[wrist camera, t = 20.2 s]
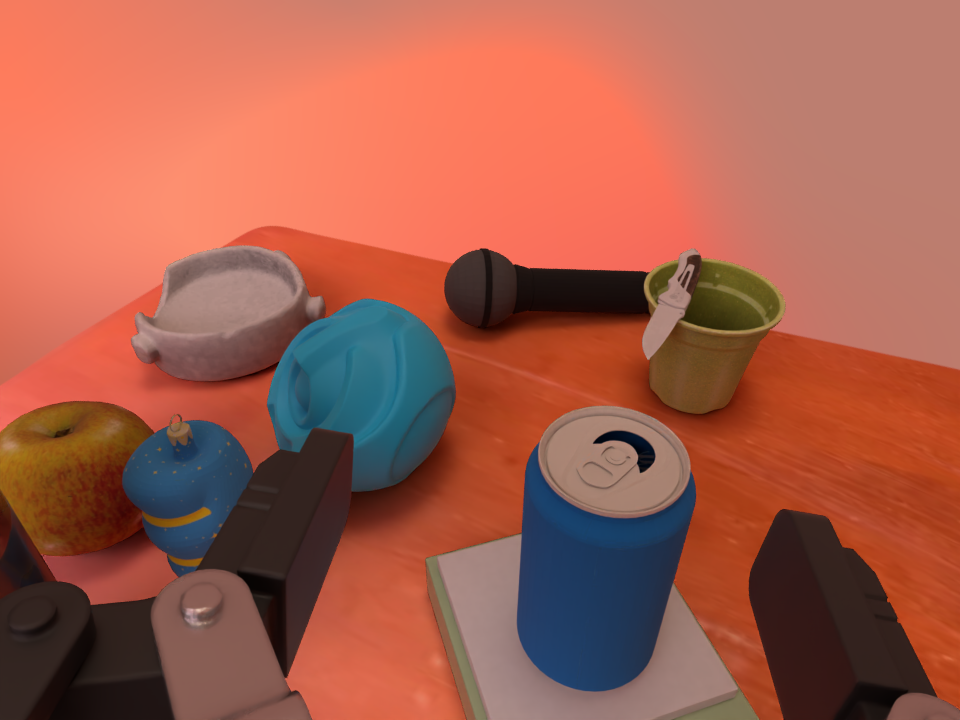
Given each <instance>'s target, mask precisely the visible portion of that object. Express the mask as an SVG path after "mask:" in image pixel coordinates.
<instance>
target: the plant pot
mask: <svg viewBox="0 0 960 720" xmlns="http://www.w3.org/2000/svg"><path fill="white" fill-rule="evenodd" d="M701 259H702V268H701V273H700V277H699V280H698V283H697V286H696V288H695V291H694V294H693V296H692V299H691V301H690V303H689V305H688V307H687V309H686V311H685V315H684V317H683V318H681V319H680V320H679V321H678V322H677V323H676V324H675V326H674V328H673V329H672V331H671V332H670V334H669V335H668V337H667V338H666V340H665V341H664V342H663V344H662V345H661V346H660V347H659V349H658V350H657V351H656V352H655V353H654V354H653V355H652V357H651V358H650V368H649V385H650V388H651V390H653V391H654V392H655V393H656V394H657V395H658V397H659V398H660V400H661V401H662V402H663V403H664V404H666V405H668V406H669V407H671V408H674V409H676V410H679V411H683V412H687V413H693V414H704V413H707V412H709V411H712V410H715V409H722V408H724V407H725V406H726V405H727V404H728V403H729V401H730V399H731V397H732V395H733V393H734V392H735V390H736V388H737V385H738V383H739V381H740V379H741V377H742V375H743V373H744V371H745V369H746V367H747V365H748V363H749V361H750V360H751V358H752V356H753V354H754V352H755V350H756V348H757V346H758V344H759V342H760V341H761V340H762V339H763V338H764V337H765V336H766V335H767V333H768V332H769V330H770V329H772V328H773V327H775V326H776V325H777V324H778V323H779V322H780V321H781V319H782V317H783V315H784V312H785V301H784V297H783V295H782V294H781V292H780V291H779V289H778V288H777V287H776V286H775V285H774V284H773V283H771V282H770V281H769V280H768V279H767V278H765V277H763V276H762V275H760V274H758V273H756V272H754V271H752V270H750V269H748V268H745V267H742V266H740V265H737V264H734V263H730V262H726V261H721V260H716V259H707V258H701ZM677 269H678V260H674V261H670V262H667V263H664V264H662V265H660V266H658V267H656V268H655V269H653V270H652V271H651V272H650V273H649V274H648V275H647V277H646V279H645V282H644V293H645V296H646V299H647V301H648V302H649V312H650V315H651V317H652V316H653V314H654V312H655V310H656V308H657V306H658V297H659V295H661V294H662V293H664V292H667V291H668V287H667V285H668V281H669V279H671V278H672V277H673V276H674V274H675V273H676V271H677Z"/></svg>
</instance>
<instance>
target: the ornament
mask: <svg viewBox="0 0 960 720" xmlns="http://www.w3.org/2000/svg"><path fill="white" fill-rule="evenodd" d="M177 415H178V414H177ZM175 416H176V415H174V416H173V417H172V418H171V420H170V426H167V427H165V428H163V429H161V430H159V431H157V432H156V433H154V434H153V435H151V436H150V437H149V438H148V439H146V440H145V441H144V442H143V443H142V444H141V445H140V446H139V447H138V448H137V449H136V450H135V452H134V453H133V454H132V455H131V457H130V459H129V460H128V462H127V464H126V466H125V468H124V471H123V477H122V485H123V489H124V491H125V493H126V495H127V497H128V498H129V499H130V500H131V502H132V503H133V504H134V505H135V506H137V507H138V508H139V509H140V510H142V523H143V526H144V529H145V532H146V534H147V536H148V537H149V539H150V540H151V541H152V543H153V544H154V545H156V546H157V547H158V548H159V549H161V550H162V551H164V552H165V553H167V558H168V562H169V564H170V566H171V568H172V570H173V571H174V572H175V574H176V575H177V576H178V577H181V576H183V575H185V574H188V573H190V572H194V571H195V570H196V569H197V567H198V566H199V564H200V562H201V561H202V559H203V557H204V556H205V554H206V552H207V551H208V549H209V547H210V546H211V544H212V542H213V541H214V539H215V537H216V536H217V534H218V532H219V531H220V529H221V527H222V526H223V524H224V522H225V521H226V519H227V517H228V516H229V514H230V512H231V511H232V509H233V507H234V506H236V504H237V501H238V499H239V497H240V496H241V494H242V492H243V490H244V489H246V487H247V484H248V482H249V480H250V479H251V477H252V475H253V470H252V466H251V463H250V460H249V458H248V456H247V454H246V452H245V450H244V449H243V447H242V446H241V445H240V443H239V442H238V441H237V439H236V438H235V437H234V436H233V435H232V434H231V433H230V432H228V431H227V430H226V429H224V428H223V427H221V426H220V425H217V424H215V423H212V422H208V421H200V420H191V421H184V422H182V418H181V416H180V415H178V416H179V417H180V422H178V423H175V424H173V425H171V423H172V420H173V418H174V417H175Z"/></svg>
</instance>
